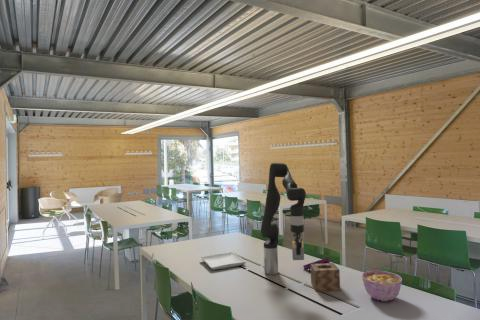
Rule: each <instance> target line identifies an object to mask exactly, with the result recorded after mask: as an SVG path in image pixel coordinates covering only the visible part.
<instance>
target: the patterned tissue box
mask: <svg viewBox="0 0 480 320" xmlns="http://www.w3.org/2000/svg"><path fill="white" fill-rule="evenodd" d="M340 272H341V271H340V269H339V268H338V266H336V264H335V263H334V262H330V263H322V264H311V267H310V284H311V285H312V288H313V289H314V291H315V292H336V291H337V292H338V291H339V290H340V291H341V281H340V280H341V278H340V276H341V274H340Z"/></svg>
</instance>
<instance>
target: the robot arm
mask: <svg viewBox="0 0 480 320" xmlns="http://www.w3.org/2000/svg"><path fill="white" fill-rule="evenodd" d="M268 172H269V173H268V185H267V192H266V198H265V206H264V207H265V208H264V210H263V211H264V212H263V218H262V222H261V224H260V225H261V226H260V235H261V237H262V238H264V239H266V240H265V241H264V242H263V266H264V267H263V270H264V274H265V275H271V276H273V275H277V274H278V273H279V254H278V249H279V248H278V244H279V227H278V224H277V223H276V222H272V221H273V217H274V216H275V215H276V213H277V212H278V210H279V208H280V203H281V198H282V197H281V194H280V191H279V190H278V188H277V184H276V178H283V179H282V183H281V184H282V186H283V188H284V190H285V192H286V198H287V199H288V201H290V202H295V201H296V203H295V204H292V205H290V207H289V209H290V218H289V219H290V221H289V223H290V224H289V225H290V232H291V233H293V234H292V235H293V241H295V244H296V252H297V255H301V247H302V241H303V239H302V238H303V237H302V235H301V233H304V232H305V219H304V204H305V201H306V198H307V197H306V195H307V193H306V190H305V189H304V188H303V187H298V184H297V183H296V181H295V180H294V178H293V177H292V175H291V172H290V170H289V167H288V165H287V164H286V163H283V162H272V163H271V164H270V165H269V170H268ZM298 245H300V246H298Z"/></svg>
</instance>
